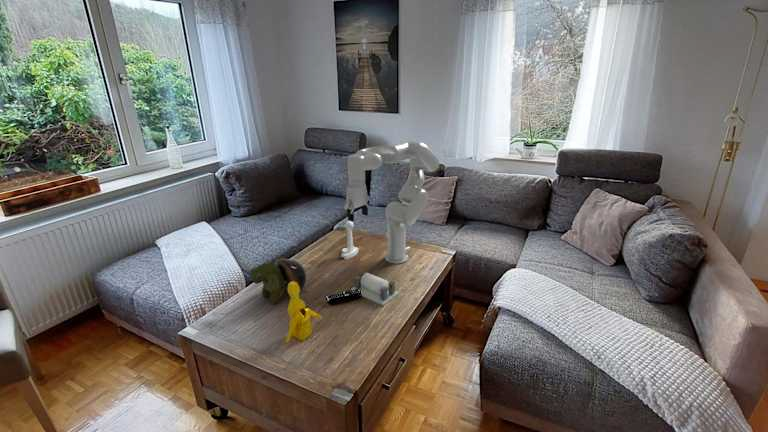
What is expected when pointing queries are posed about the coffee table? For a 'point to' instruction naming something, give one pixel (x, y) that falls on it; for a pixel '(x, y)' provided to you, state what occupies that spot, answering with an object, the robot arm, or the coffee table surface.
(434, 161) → the robot arm
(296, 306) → the figure statuette
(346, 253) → the joystick
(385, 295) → the roll holder
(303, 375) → the coffee table surface
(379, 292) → the paper roll
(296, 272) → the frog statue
